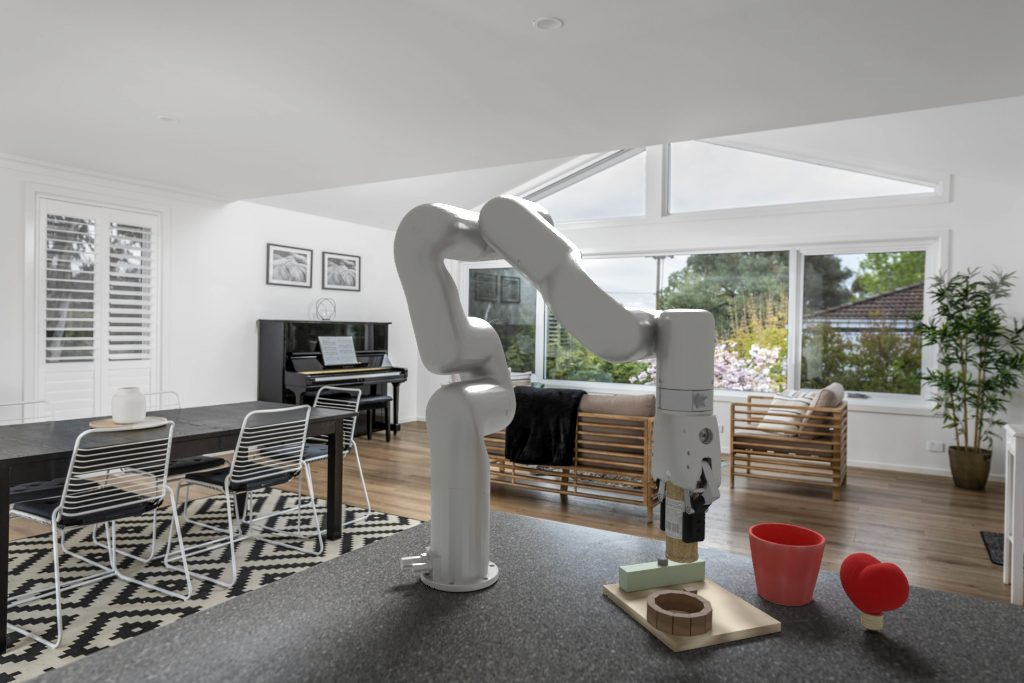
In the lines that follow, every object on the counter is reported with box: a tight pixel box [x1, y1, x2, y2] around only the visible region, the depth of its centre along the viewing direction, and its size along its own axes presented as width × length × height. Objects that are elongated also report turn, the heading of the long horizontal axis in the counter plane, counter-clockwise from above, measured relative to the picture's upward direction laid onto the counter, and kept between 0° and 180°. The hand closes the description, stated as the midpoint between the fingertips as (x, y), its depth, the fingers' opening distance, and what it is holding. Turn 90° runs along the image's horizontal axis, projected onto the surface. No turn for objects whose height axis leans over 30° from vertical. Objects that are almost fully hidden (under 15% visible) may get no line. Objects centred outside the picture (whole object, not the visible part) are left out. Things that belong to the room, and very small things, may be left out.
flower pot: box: [748, 522, 826, 607], centre depth 103 cm, size 11×11×10 cm
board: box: [602, 576, 782, 653], centre depth 97 cm, size 17×19×4 cm
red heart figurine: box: [839, 552, 910, 633], centre depth 91 cm, size 9×7×10 cm
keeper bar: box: [618, 556, 706, 592], centre depth 104 cm, size 14×2×4 cm, turn 111°
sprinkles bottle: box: [664, 470, 700, 563], centre depth 90 cm, size 5×5×14 cm
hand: (681, 534), depth 91 cm, fingers closed on sprinkles bottle, 4 cm apart
